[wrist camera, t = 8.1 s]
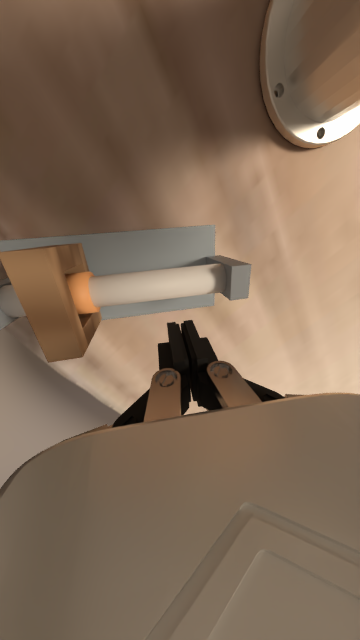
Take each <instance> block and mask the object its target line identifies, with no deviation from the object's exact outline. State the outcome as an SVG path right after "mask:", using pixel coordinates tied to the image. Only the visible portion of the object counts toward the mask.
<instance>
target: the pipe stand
mask: <svg viewBox="0 0 360 640" xmlns="http://www.w3.org/2000/svg"><path fill="white" fill-rule="evenodd" d="M75 243H82V247H83V250H84V254H85V258H86V261H87V265H88V269H89V272H81V273H71V274H65V277H66V280H67V283H68V286H69V289H70V292H71V295H72V298H73V301H74V304H75V307H76V310H77V313H78V315H79V314H87V313H95V312H99V311H100V312H101V316H102V319H101V320H107V319H115V318H123V317H130V316H138V315H146V314H153V313H161V312H168V311H176V310H184V309H191V308H199V307H207V306H214V293H221V294H223V295H224V296H225V297H227V298H228V299H229V300H238V299H245V298H248V294H249V284H250V273H251V264H248V263H244V262H241V261H238V260H234V259H231V258H227V257H224V256H220V255H219V256H215V225H205V226H191V227H178V228H164V229H151V230H137V231H124V232H110V233H97V234H83V235H70V236H56V237H43V238H29V239H16V240H2V241H0V251H1V252H4V251H12V250H20V249H28V248H36V247H43V246H51V245H62V244H75ZM23 316H26V314H25V312H24V309H23V307H22V305H21V303H20V301H19V299H18V297H17V294H16V292H15V290H14V288H13V286H12V284H11V281H10V279H9V278H5V279H2V280H0V330H1V329H2V328H4V327H5V326H7V325H8V324H10V323H11V322H13V321H14V320H16V319H17V318H19V317H23Z"/></svg>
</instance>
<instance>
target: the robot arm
mask: <svg viewBox="0 0 360 640" xmlns="http://www.w3.org/2000/svg"><path fill="white" fill-rule="evenodd" d="M260 81H261V87H262V92H263V98H264V102H265V105H266V108H267V111H268V114H269V116H270V118H271V120H272V122H273V124H274V125H275V127H276V129H277V130H278V131H279V132H280V133H281V135H282V136H283V137H284V138H285V139H287V140H288V141H290V142H291V143H292V144H294V145H297V146H300V147H303V148H317V147H322V146H326V145H328V144H330V143H332V142H334V141H337V140H339V139H340V138H342V137H343V136H345V135H347V134H348V133H350V132H351V131H352V130H353V129H354V128H356V127H357V126H358V125H359V124H360V0H270V3H269V6H268V9H267V13H266V16H265V22H264V27H263V32H262V37H261V49H260ZM167 327H168V336H169V342H167V343H159V344H158V355H159V371H157V372H156V373H155V374H154V375H153V377H152V381H151V386H150V389H149V390H148V391H147V392H145V393H144V394H143V395H142V396H141V397H140V398H139V399H138V400H137V401H136V402H135V403H134V404H133V405H131V406H130V407H129V408H128V409H127V410H126V411H125V412H124V413H123V414H122V415H121V416H120V417H119V418H118V419H117V420H116V421H115V422H114V424H113V425H110V426H108V425H107V424H106V425H103V426H100V427H98V428H95V429H93V430H90V431H87V432H85V433H82V434H79V435H77V436H74V437H71V438H69V439H66V440H63V441H62V442H60V443H58V444H55V445H54V446H51V447H50V448H48V449H46V450H44V451H42V452H40V453H39V454H37V455H35V456H34V457H32V458H31V459H29V460H28V461H26V462H25V463H24V464H22V465H21V466H20V467H19V468H18V469H17V470H16V471H15V472H14V473H13V474H12V475H11V476H10V477H9V478H8V479H7V481H6V482H5V483H4V484H3V486H2V487H1V489H0V640H360V394H353V393H322V394H312V395H291V394H285V397H283V396H282V395H280V394H279V393H277V392H275V391H272V390H270V389H267V388H265V387H263V386H260V385H258V384H256V383H253V382H251V381H248V380H246V379H244V378H242V376H241V375H240V374H239V373H238V371H237V370H236V369H235V368H234V367H233V366H232V365H231V364H230V363H228V362H225V361H218V359H217V357H216V355H215V353H214V351H213V349H212V347H211V345H210V343H209V340H208V339H207V337H205V338H200V337H199V335H198V333H197V330H196V328H195V326H194V323H193V321H192V320H188V321H184V323H181V330H180V327H179V324H176V323H175V322H172V323H167ZM181 332H182V334H181ZM190 389H191V393H192V397H193V401H197V403H198V407H200V406H202V407H204V408H206V409H207V411H205V412H199V413H193V414H187V415H184V414H185V412H186V411H187V410H188V408H189V402H191V393H190Z"/></svg>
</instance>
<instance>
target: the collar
mask: <svg viewBox="0 0 360 640" xmlns="http://www.w3.org/2000/svg"><path fill="white" fill-rule="evenodd" d="M0 260H1V262H2V264H3V266H4V269H5V271H6V273H7V275H8V277H9V279H10V281H11V284H12V286H13V288H14V290H15V292H16V294H17V297H18V299H19V301H20V303H21V305H22V307H23V309H24V312H25V314H26V316H27V318H28V320H29V322H30V325H31V327H32V329H33V331H34V333H35V335H36V337H37V340H38V342H39V344H40V346H41V348H42V350H43V353H44V355H45V357H46V359H47V361H48V362H55V361H61V360H68V359H74V358H81V357H83V356H84V354H85V352H86V350H87V347H88V345H89V343H90V341H91V339H92V337H93V335H94V333H95V331H96V329H97V327H98V325H99V323H100V321H101V319H102V316H101V312H100V311H99V312H95V313H87V314H79V315H78V313H77V310H76V307H75V304H74V301H73V298H72V295H71V292H70V289H69V286H68V283H67V280H66V277H65V274H71V273H81V272H89V269H88V265H87V261H86V258H85V254H84V250H83V247H82V243H75V244H62V245H51V246H43V247H36V248H28V249H20V250H12V251H4V252H0Z"/></svg>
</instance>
